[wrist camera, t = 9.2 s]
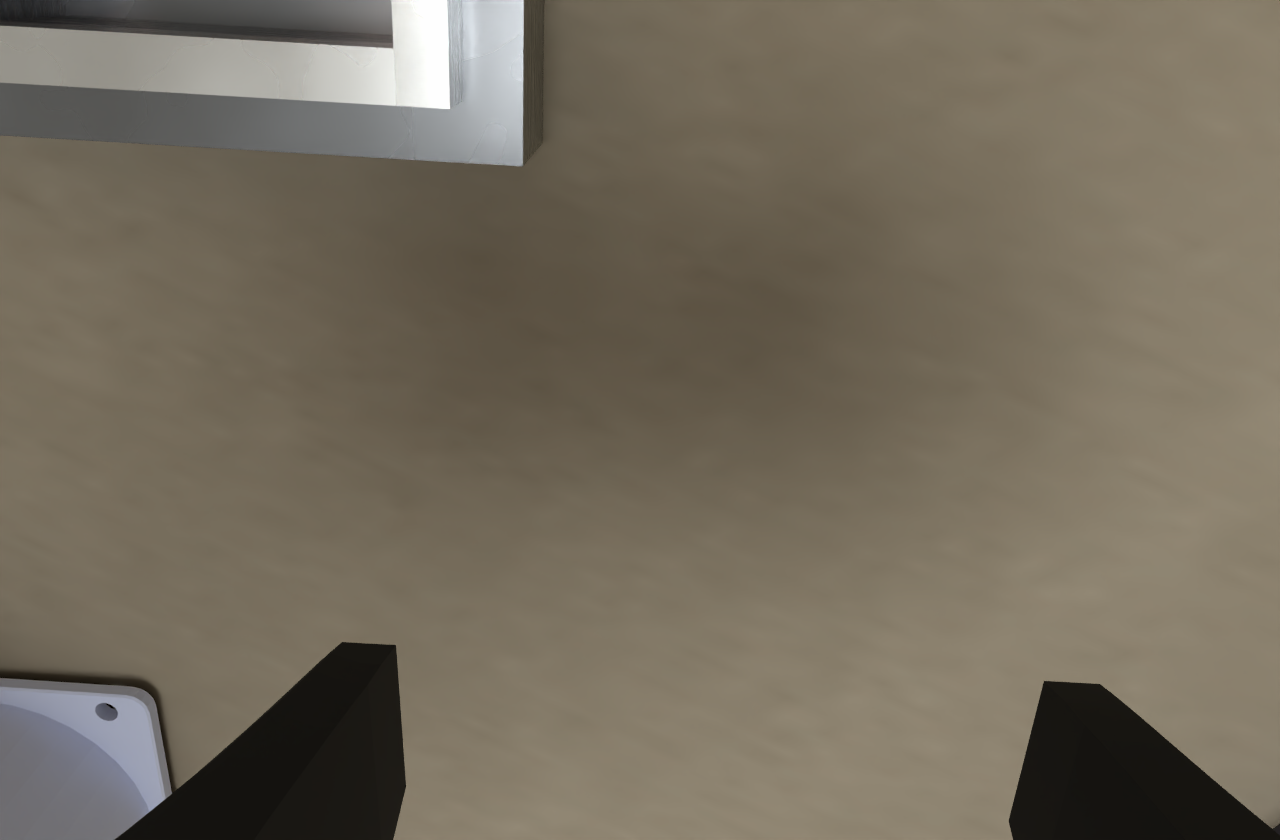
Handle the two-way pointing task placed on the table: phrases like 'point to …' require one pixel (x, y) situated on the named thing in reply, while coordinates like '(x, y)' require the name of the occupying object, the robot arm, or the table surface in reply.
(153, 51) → the grey peg holder base
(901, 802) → the table surface
